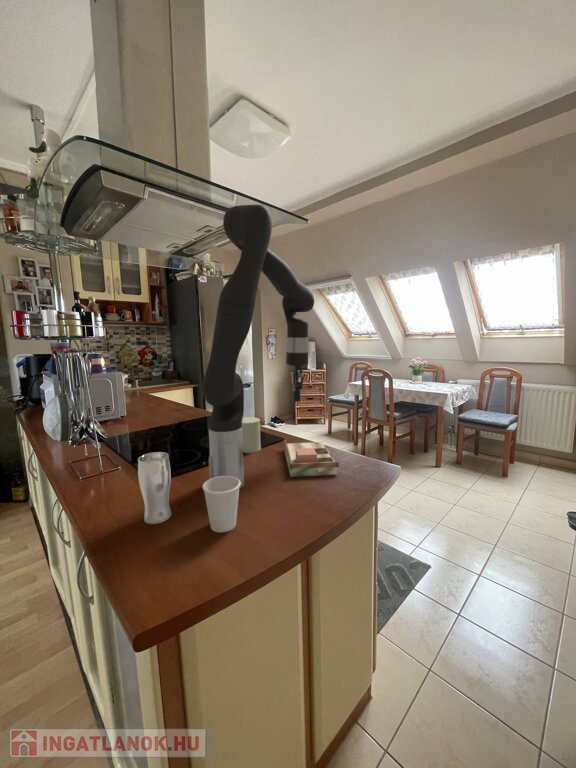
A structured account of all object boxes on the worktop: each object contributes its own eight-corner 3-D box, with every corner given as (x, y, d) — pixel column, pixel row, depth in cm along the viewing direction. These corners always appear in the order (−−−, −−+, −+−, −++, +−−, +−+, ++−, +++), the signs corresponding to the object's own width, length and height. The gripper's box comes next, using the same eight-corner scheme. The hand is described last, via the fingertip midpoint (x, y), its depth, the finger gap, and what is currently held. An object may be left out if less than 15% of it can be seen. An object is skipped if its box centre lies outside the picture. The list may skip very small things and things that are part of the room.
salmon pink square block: (298, 466, 99) (298, 455, 98) (295, 458, 105) (295, 448, 104) (317, 465, 99) (317, 454, 99) (313, 458, 105) (313, 447, 105)
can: (235, 446, 125) (234, 416, 123) (258, 444, 127) (257, 414, 126) (238, 454, 116) (237, 422, 114) (263, 451, 119) (262, 420, 117)
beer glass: (163, 506, 80) (159, 449, 78) (179, 515, 76) (175, 455, 74) (136, 518, 75) (131, 457, 73) (151, 529, 71) (146, 465, 69)
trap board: (290, 476, 97) (290, 464, 96) (284, 449, 120) (284, 439, 120) (338, 474, 98) (338, 462, 97) (323, 448, 122) (323, 438, 121)
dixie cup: (201, 519, 74) (199, 479, 73) (236, 511, 77) (235, 473, 76) (208, 540, 67) (205, 495, 65) (246, 530, 70) (245, 487, 68)
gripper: (312, 352, 101) (310, 405, 104) (304, 350, 114) (304, 397, 117) (288, 352, 101) (288, 405, 103) (284, 350, 114) (284, 397, 116)
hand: (296, 401), depth 110 cm, fingers closed
